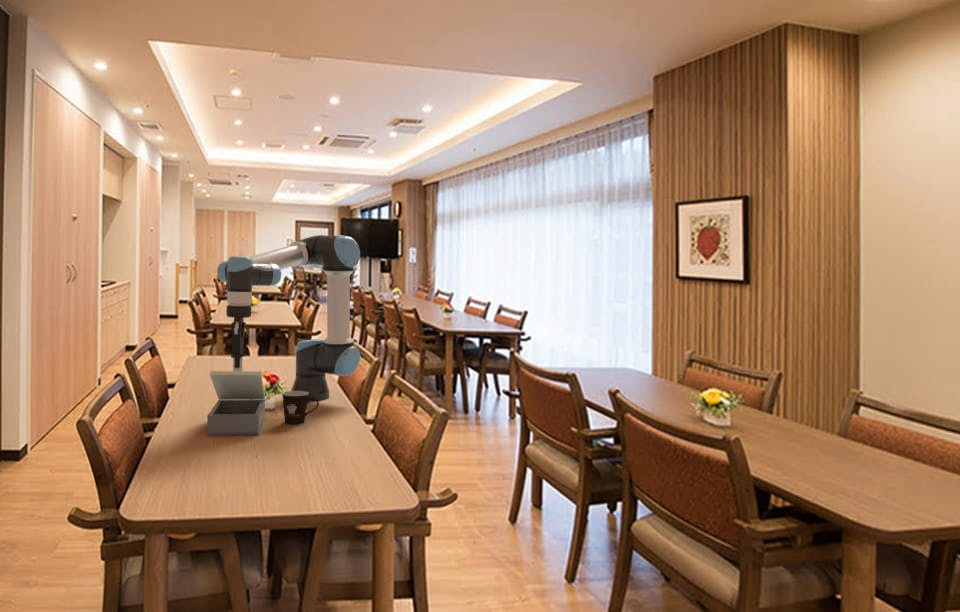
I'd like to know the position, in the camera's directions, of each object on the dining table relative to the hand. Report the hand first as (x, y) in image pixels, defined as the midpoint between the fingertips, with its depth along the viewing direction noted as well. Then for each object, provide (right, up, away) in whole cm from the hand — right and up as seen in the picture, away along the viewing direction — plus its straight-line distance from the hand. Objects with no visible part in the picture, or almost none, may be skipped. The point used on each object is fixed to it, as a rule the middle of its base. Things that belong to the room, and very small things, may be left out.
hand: (237, 377), depth 215 cm
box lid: (-1, -4, +3) cm, 5 cm away
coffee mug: (+17, -17, +11) cm, 26 cm away
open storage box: (-1, -16, +2) cm, 17 cm away
